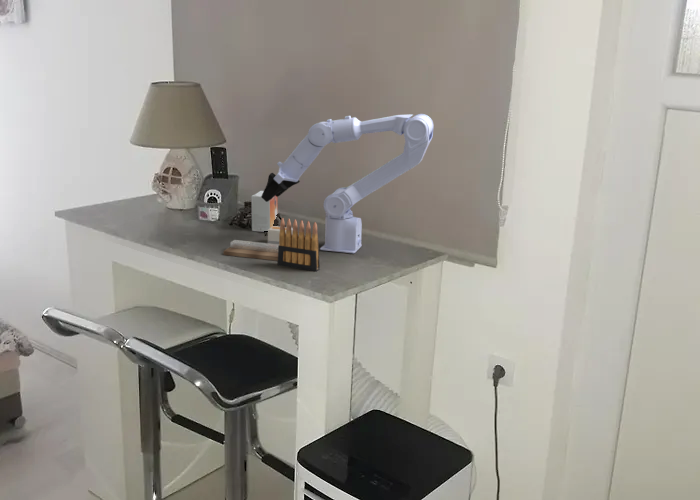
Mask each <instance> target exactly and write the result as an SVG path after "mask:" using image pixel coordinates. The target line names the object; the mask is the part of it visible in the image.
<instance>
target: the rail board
mask: <svg viewBox="0 0 700 500" xmlns="http://www.w3.org/2000/svg"><path fill="white" fill-rule="evenodd" d="M222 252H223V253H222V254H223V256H233V257H240V258H251V259H259V260H268V261H276V262H278V253H274V252H265V251H255V250H246V249H236V248H231V246H229V247H227V248H225V249H224V250H223V251H222Z"/></svg>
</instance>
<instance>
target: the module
mask: <svg viewBox="0 0 700 500" xmlns="http://www.w3.org/2000/svg"><path fill="white" fill-rule="evenodd" d="M291 231H292V234H293V227H291ZM285 233H286V226H285ZM279 234H280V225H278V226H273V227H271V228H270V229H268V232H267V243H270V244H279Z"/></svg>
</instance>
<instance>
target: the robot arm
mask: <svg viewBox="0 0 700 500" xmlns="http://www.w3.org/2000/svg"><path fill="white" fill-rule="evenodd" d="M434 127H435V126H434V121H433V119H432V118H431V117H430V116H428V115H427V114H424V113H418V114H415V115H414V114H412V113H411V114H409V113H408V114H396V115H391V116H386V117H381V118H374V119H368V120H362V121H361V120H359V118H357V117H356V116H354V117H351V115H346V116H344V118H341V119H336V120H332V118H329V119H327V120H326V121H319V122H317V123H315V124H312V126H310V127H309V128H308V132H307V134H306V135H305V136H304V138H303V139H302V140H301V141H300V142H299V143H298V144H297V146H296V147H295V148H294V149H293V151H292V152H291V153H290V154H289V156H288V157H287V158H285V160H284V161H283V162H282V161H278V162H277V163H276V165H277V166H278V171H277V173H276V174H275V173H274V172H271V173H269V174H268V178H267V183H266V186H265V188H264V189H263V191H264V192H263V194H262V196H261V197H262V198H263V199H264V200H265V201H266V202H268V201H269V200H271V199H272V198H273V197H274V196H276V197H279V196H281V195H282V194H283V193H285V192H286V191H287V190H288V189H290V188H292V186H293V187H294V185H297V184H299V183H300V182H301V181H300V178H301V176H302V175H303V174H304V173H305V172H306V171H307V170H308V169H309V167H310V166H311V164H313V162H314V161H315V159H317V157H318V156H319V155H320V153H321V151H322V150H323V149H324V148H325V147H326V146H327V145H328V144H330V143H334V144H337V143H339V144H340V143H345V142H351V141H352V142H353V141H358V140H359V139H360V138H361V137H362V135H363V134H364V135H367V134H373V133H374V134H375V133H382V132H394V133H395V134H397V135H399V136H402V135H403V136H404V137H403V138H404V145H403V152H402V153H401V154H398V155H397V156H395V157H394V158H392V159H390V160H389V161H387V162H386V163H384V164H383V165H381V166H380V167H378V168H376V169H375V170H373V171H372V172H370V173H368V174H367V175H365V176H364V177H361V178H360V179H358V180H357V181H355V182H354V183H352V184H350V185H349V186H346V187H339V188H336V190H334V191H333V193H330V194H329V195H327V197H325V198H324V201H323V209H324V212H325V221H324V222H325V224H324V225H325V229H324V230H325V233H324V234H325V235H324V237H325V239H324V242H325V243H324V244H323V245H322V246H321V247H320V248H319V251H329V252H337V253H347V254H355V253H357V251H358V250H359V249H360V248H361V247H362V231H363V230H362V229H363V228H362V227H363V225H362V218H361V217H356V216H354V213H353V211H352V208H353V206H354V205H355V204H357V203H358V202H359V201H361V200H363V199H364V198H366V197H367V196H369V195H370V194H372V193H374V192H375V191H377V190H379V189H381V188H383V187H384V186H386V185H387V184H389V183H390V182H392V181H393V180H395V179H397V178H398V177H400V176H401V175H403V174H405V173H407V172H408V171H410V170H412V169H413V168H415V167H416V166H418V165H419V164H421V162H422V161H423V159H424V157H425V154H426V152H427V149H428V147H429V145H430V143H431V141H432V139H433V135H434Z"/></svg>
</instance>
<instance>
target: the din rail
mask: <svg viewBox="0 0 700 500" xmlns="http://www.w3.org/2000/svg"><path fill="white" fill-rule="evenodd" d="M278 246H279V244H270V243H268V242H260V241H259V242H258V241H247V240H242V239H241V240H238V239H233V240H231V241H230V247H231V248H236V249H246V250H255V251H265V252H274V253H278Z"/></svg>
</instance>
